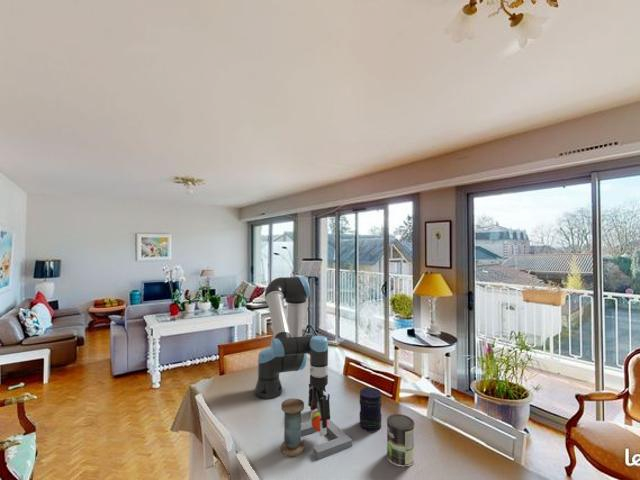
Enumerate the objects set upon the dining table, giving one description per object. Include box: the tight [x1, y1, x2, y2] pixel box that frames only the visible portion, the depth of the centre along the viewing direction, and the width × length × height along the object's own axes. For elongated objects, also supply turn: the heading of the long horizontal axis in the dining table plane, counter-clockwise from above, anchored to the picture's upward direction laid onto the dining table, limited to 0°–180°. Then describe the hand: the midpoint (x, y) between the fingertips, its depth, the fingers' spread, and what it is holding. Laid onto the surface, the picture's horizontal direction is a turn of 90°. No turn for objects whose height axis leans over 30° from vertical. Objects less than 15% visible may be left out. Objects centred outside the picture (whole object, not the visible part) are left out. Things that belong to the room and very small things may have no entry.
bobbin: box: [280, 397, 305, 458], centre depth 124 cm, size 9×9×18 cm
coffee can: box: [386, 413, 415, 468], centre depth 120 cm, size 10×10×14 cm
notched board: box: [301, 418, 353, 460], centre depth 131 cm, size 20×16×2 cm
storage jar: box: [359, 386, 383, 433], centre depth 142 cm, size 10×10×15 cm
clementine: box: [309, 412, 328, 433], centre depth 130 cm, size 8×7×7 cm
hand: (318, 429), depth 130 cm, fingers closed on clementine, 7 cm apart
